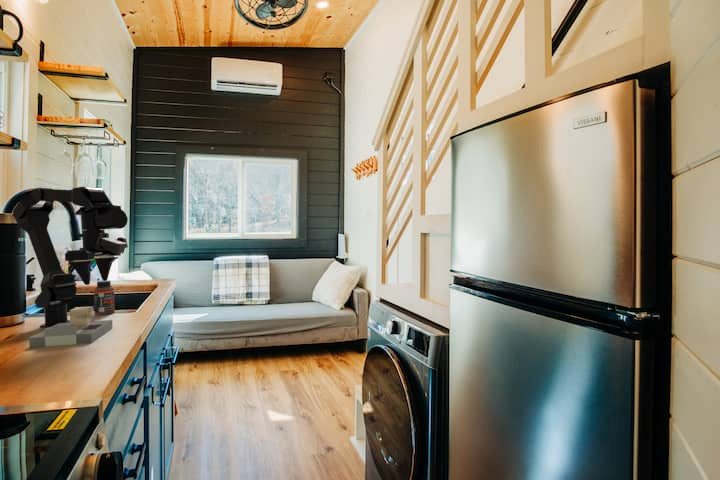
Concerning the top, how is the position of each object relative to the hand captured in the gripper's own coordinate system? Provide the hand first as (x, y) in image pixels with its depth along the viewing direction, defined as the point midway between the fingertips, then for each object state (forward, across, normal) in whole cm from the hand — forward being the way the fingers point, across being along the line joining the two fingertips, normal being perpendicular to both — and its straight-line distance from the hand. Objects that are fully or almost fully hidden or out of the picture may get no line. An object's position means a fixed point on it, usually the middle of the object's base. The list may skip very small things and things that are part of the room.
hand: (96, 282), depth 126 cm
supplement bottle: (+14, +21, +10) cm, 27 cm away
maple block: (+11, -4, +2) cm, 12 cm away
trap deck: (+14, -10, +2) cm, 17 cm away
